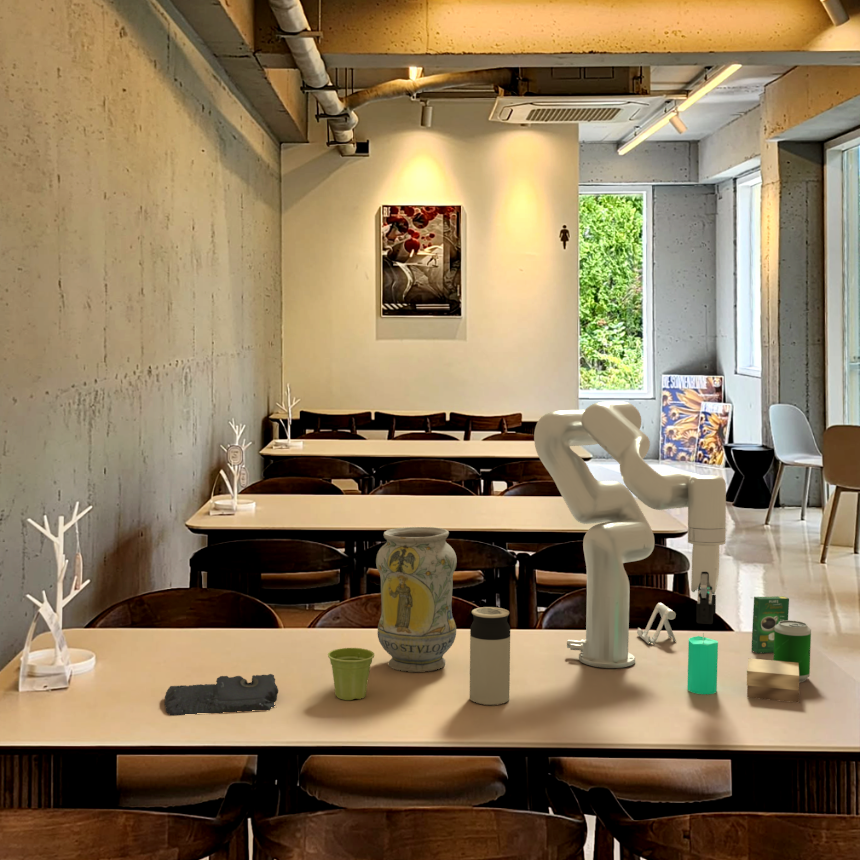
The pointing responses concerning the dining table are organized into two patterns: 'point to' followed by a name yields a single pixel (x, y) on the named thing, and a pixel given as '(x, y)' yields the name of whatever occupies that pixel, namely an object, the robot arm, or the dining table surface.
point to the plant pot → (350, 672)
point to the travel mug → (490, 656)
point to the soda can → (793, 645)
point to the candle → (702, 665)
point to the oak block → (773, 674)
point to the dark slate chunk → (223, 696)
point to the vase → (416, 597)
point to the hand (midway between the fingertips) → (706, 618)
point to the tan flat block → (773, 693)
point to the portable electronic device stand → (665, 615)
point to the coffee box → (767, 621)
